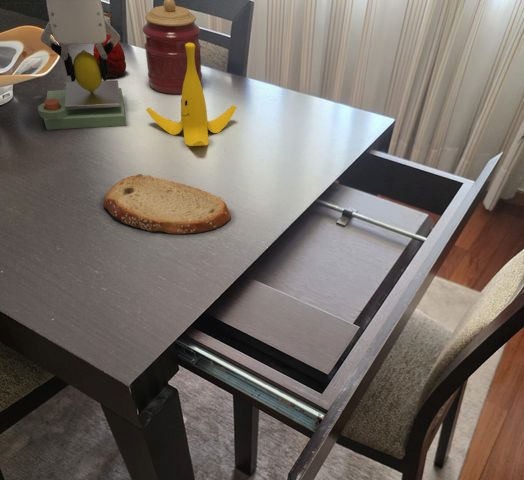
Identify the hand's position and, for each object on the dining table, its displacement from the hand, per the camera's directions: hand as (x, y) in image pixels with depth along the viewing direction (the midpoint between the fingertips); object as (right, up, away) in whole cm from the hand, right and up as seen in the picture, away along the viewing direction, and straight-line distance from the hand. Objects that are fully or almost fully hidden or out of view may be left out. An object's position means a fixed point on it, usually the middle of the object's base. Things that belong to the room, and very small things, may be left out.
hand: (88, 77), depth 101 cm
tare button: (-7, -7, -2) cm, 10 cm away
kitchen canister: (+15, +8, +18) cm, 25 cm away
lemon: (0, -2, +2) cm, 3 cm away
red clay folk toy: (-1, +12, +20) cm, 24 cm away
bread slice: (+20, -33, -19) cm, 43 cm away
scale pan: (0, -2, +3) cm, 3 cm away
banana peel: (+24, -10, +2) cm, 26 cm away
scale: (-2, -5, +5) cm, 7 cm away
